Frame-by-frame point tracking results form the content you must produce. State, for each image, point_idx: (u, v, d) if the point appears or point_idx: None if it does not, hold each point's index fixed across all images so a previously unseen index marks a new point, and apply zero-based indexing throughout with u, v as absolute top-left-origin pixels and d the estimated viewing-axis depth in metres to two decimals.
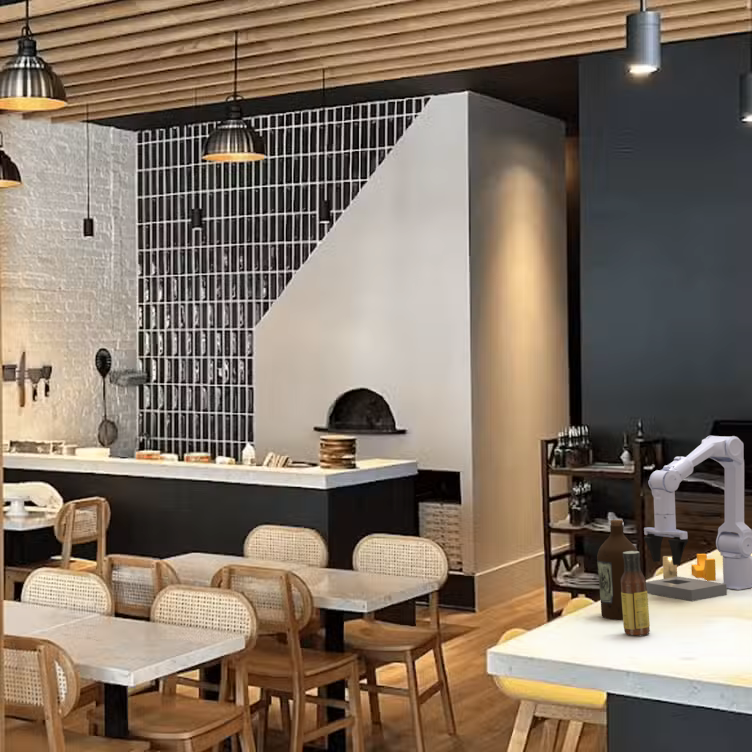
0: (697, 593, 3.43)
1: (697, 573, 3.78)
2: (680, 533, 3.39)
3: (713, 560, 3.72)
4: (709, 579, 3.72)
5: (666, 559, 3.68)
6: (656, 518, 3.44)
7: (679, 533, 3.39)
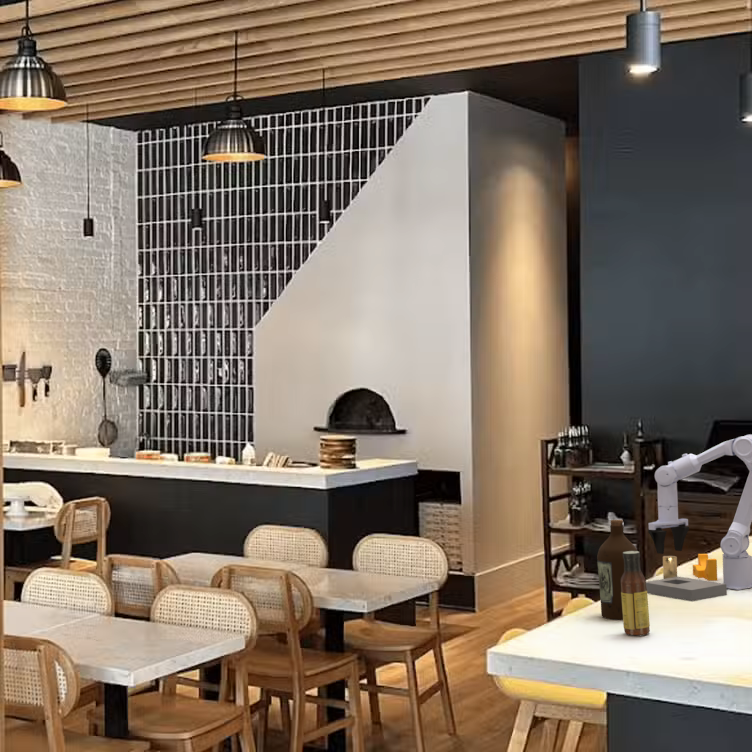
0: (697, 593, 3.43)
1: (698, 573, 3.78)
2: None
3: (714, 560, 3.72)
4: (711, 579, 3.72)
5: (666, 559, 3.68)
6: None
7: None
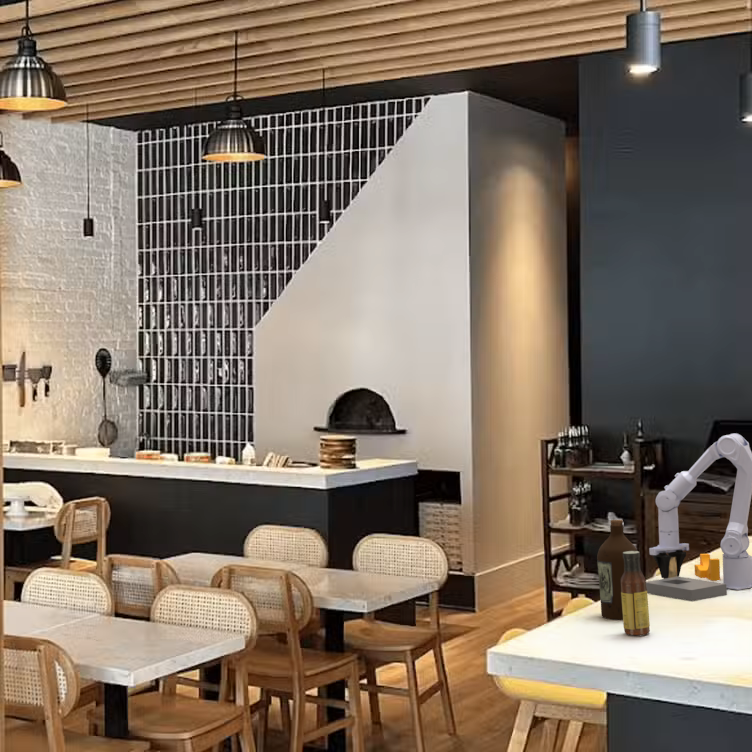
0: (697, 593, 3.43)
1: (701, 573, 3.78)
2: None
3: (717, 560, 3.72)
4: (713, 579, 3.72)
5: None
6: None
7: None
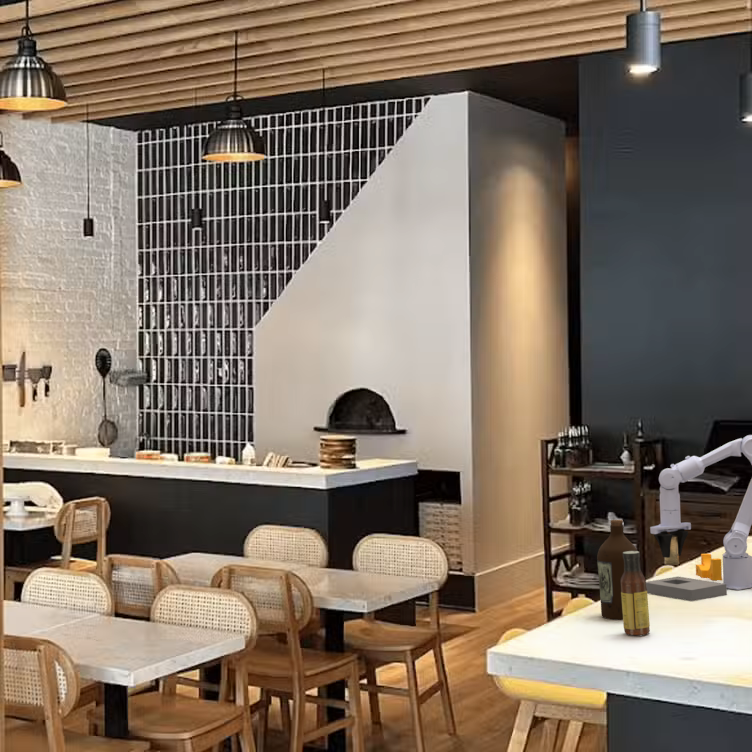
0: (697, 593, 3.43)
1: (702, 573, 3.78)
2: None
3: (719, 560, 3.72)
4: (715, 579, 3.72)
5: None
6: None
7: None
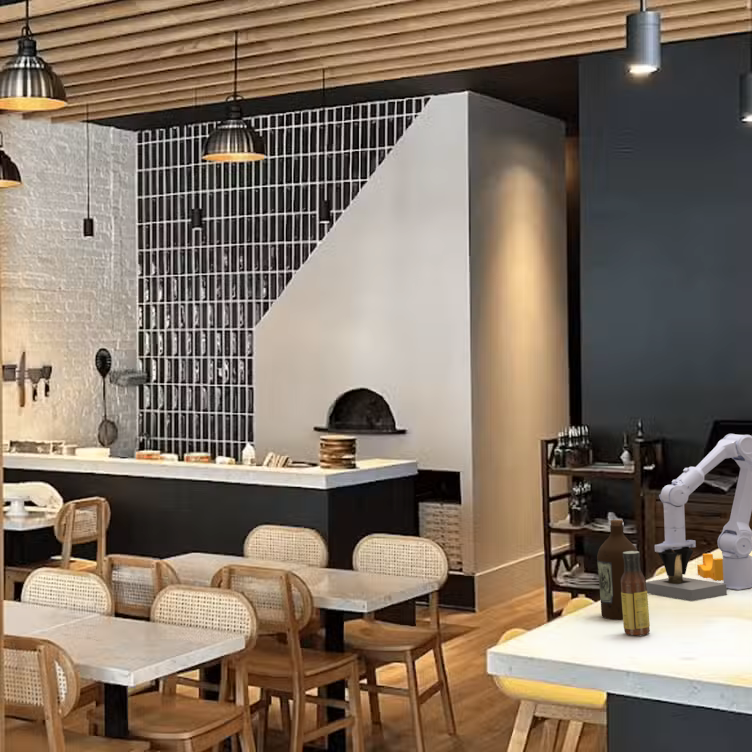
0: (697, 593, 3.43)
1: (704, 573, 3.78)
2: None
3: (721, 560, 3.72)
4: (717, 579, 3.72)
5: None
6: None
7: None
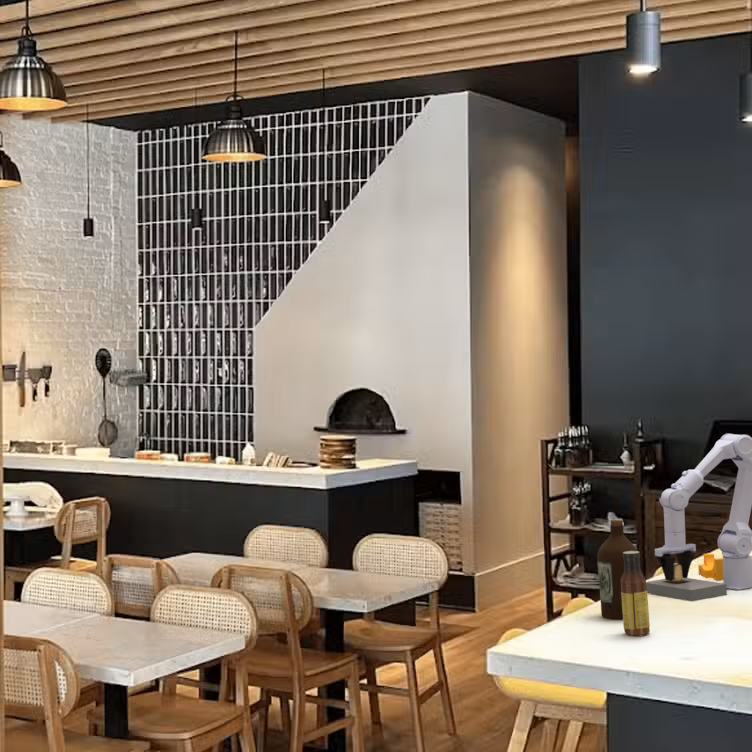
0: (697, 593, 3.43)
1: (705, 573, 3.78)
2: None
3: (722, 560, 3.72)
4: (718, 579, 3.72)
5: None
6: None
7: None
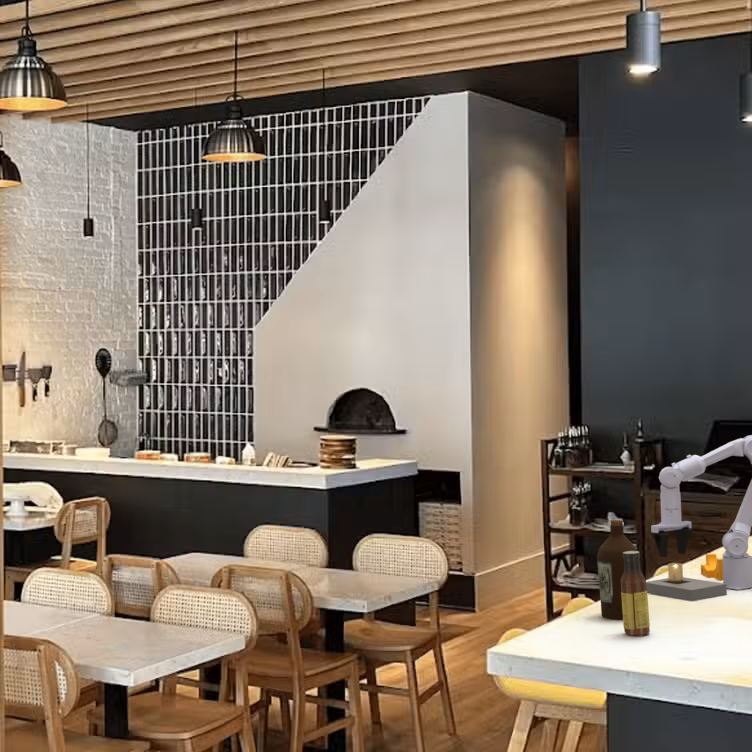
0: (697, 593, 3.43)
1: (708, 573, 3.78)
2: None
3: None
4: (721, 579, 3.72)
5: (671, 566, 3.54)
6: None
7: None
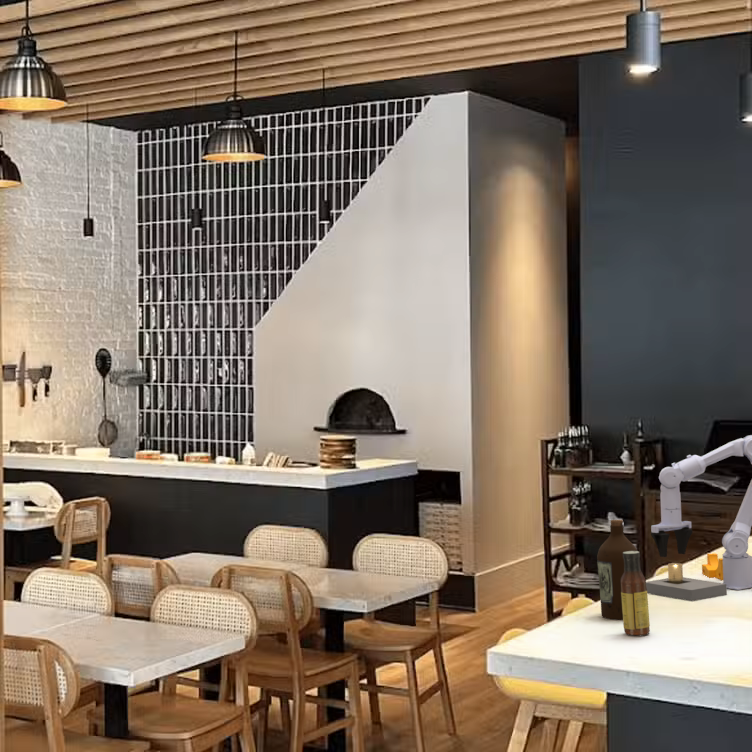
0: (697, 593, 3.43)
1: (710, 573, 3.78)
2: None
3: None
4: None
5: (671, 566, 3.54)
6: None
7: None
